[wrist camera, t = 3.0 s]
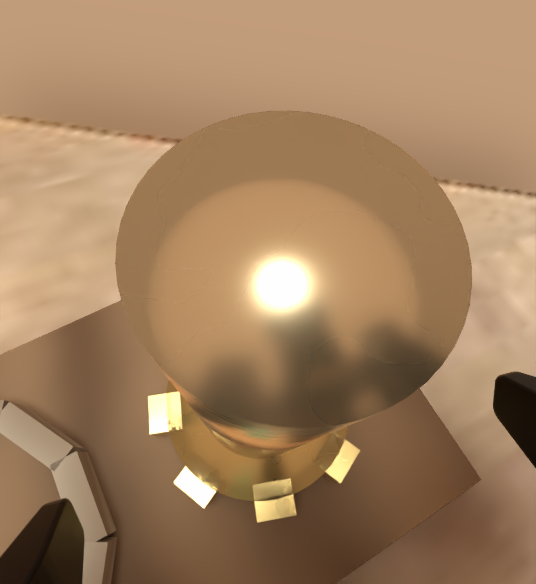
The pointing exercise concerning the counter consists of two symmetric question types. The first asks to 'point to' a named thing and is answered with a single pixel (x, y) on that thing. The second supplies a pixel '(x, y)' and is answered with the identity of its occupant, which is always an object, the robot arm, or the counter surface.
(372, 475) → the carrier plate
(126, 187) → the counter surface
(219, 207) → the gold piece
